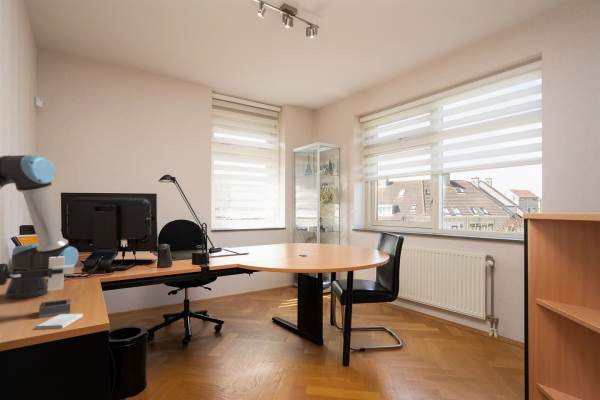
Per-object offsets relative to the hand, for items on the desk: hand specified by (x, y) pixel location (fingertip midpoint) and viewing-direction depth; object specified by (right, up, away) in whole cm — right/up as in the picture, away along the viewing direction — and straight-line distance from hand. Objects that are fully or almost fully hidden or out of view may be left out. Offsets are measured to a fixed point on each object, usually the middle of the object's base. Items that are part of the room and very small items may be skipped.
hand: (73, 269), depth 122 cm
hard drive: (+6, -16, -14) cm, 22 cm away
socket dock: (-4, -16, -4) cm, 17 cm away
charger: (-4, -7, -3) cm, 9 cm away
